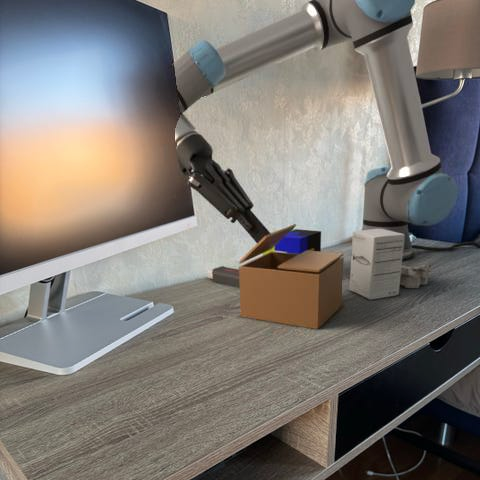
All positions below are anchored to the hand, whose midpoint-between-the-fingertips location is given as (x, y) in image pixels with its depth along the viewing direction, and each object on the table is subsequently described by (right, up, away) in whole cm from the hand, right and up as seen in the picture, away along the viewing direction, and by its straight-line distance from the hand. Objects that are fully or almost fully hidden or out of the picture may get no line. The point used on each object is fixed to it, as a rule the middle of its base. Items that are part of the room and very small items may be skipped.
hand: (266, 241), depth 82 cm
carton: (+5, -13, +2) cm, 14 cm away
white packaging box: (+23, -9, +11) cm, 27 cm away
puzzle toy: (+8, -4, +27) cm, 28 cm away
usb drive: (-7, -6, +23) cm, 25 cm away
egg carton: (+31, -6, +17) cm, 36 cm away
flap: (+1, -1, 0) cm, 1 cm away
